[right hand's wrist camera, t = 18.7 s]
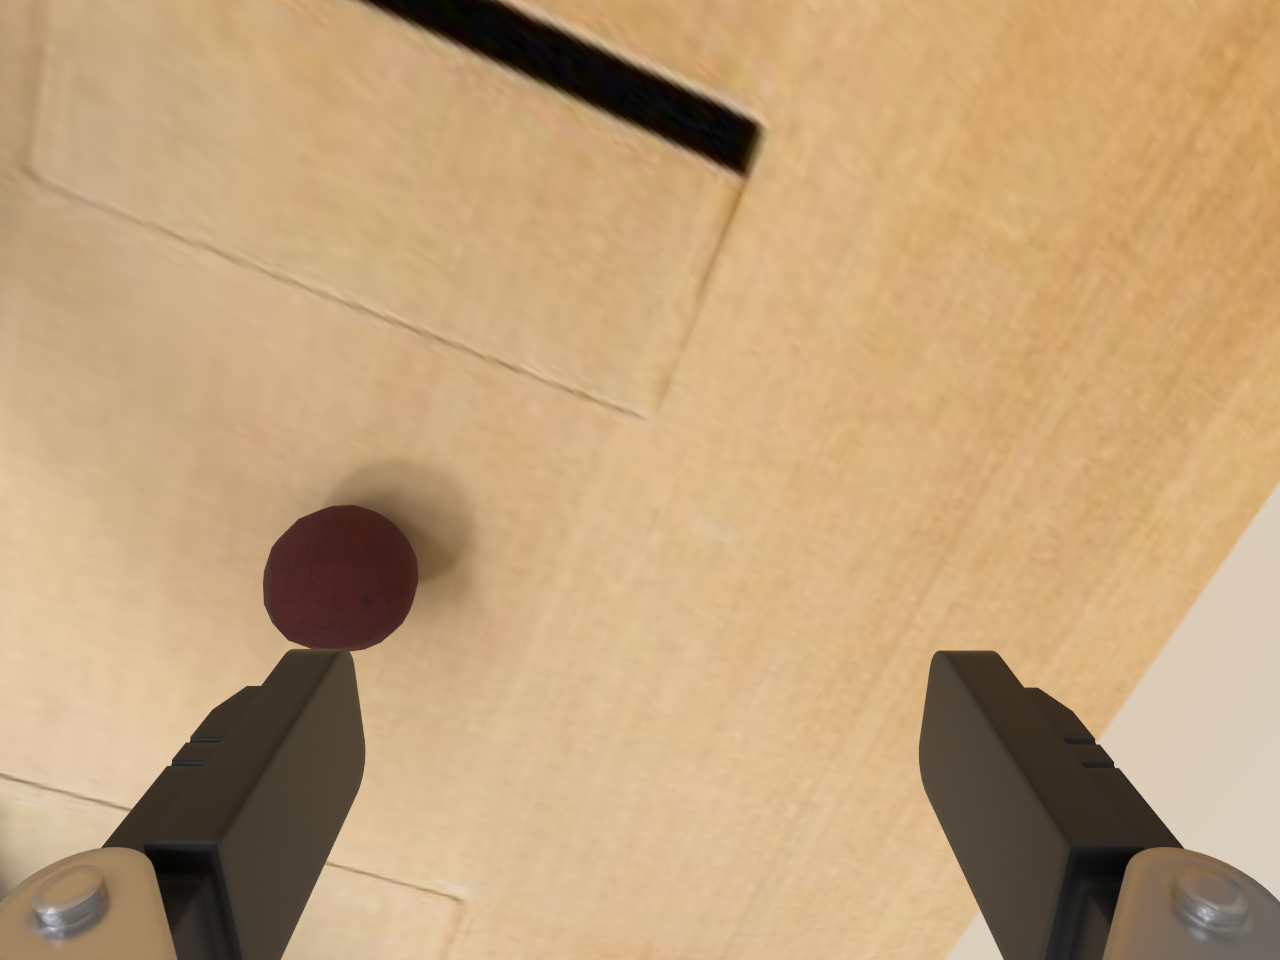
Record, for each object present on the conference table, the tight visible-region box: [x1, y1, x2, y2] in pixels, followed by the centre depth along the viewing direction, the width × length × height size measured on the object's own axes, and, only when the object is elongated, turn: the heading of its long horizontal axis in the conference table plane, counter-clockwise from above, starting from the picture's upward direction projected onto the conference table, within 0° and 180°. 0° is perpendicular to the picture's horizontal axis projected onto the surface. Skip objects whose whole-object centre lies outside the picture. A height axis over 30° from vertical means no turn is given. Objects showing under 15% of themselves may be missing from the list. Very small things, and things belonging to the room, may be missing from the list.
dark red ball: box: [263, 505, 418, 651], centre depth 42 cm, size 7×8×7 cm
